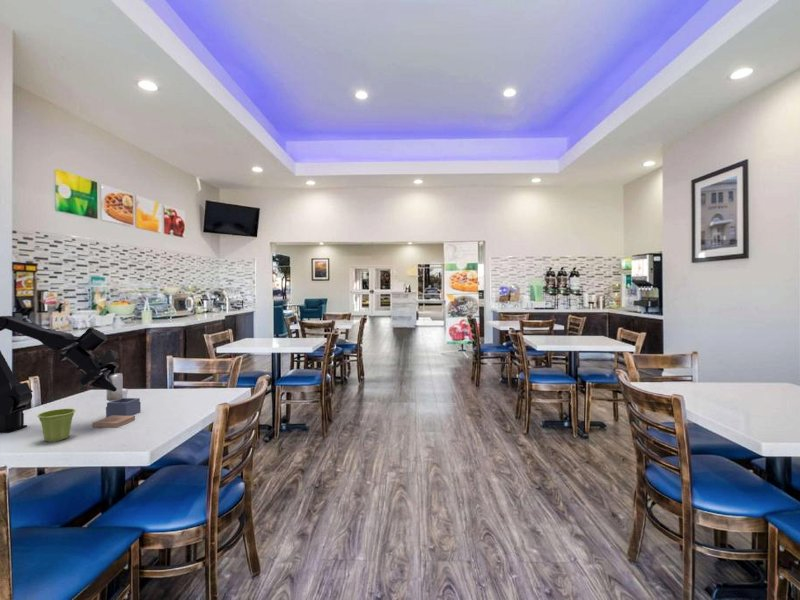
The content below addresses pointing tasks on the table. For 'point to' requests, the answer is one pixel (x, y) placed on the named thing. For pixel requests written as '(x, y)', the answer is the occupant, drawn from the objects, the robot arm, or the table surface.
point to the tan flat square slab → (113, 421)
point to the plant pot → (56, 424)
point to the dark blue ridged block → (123, 407)
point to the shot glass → (123, 393)
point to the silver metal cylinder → (118, 383)
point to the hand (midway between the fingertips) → (118, 389)
